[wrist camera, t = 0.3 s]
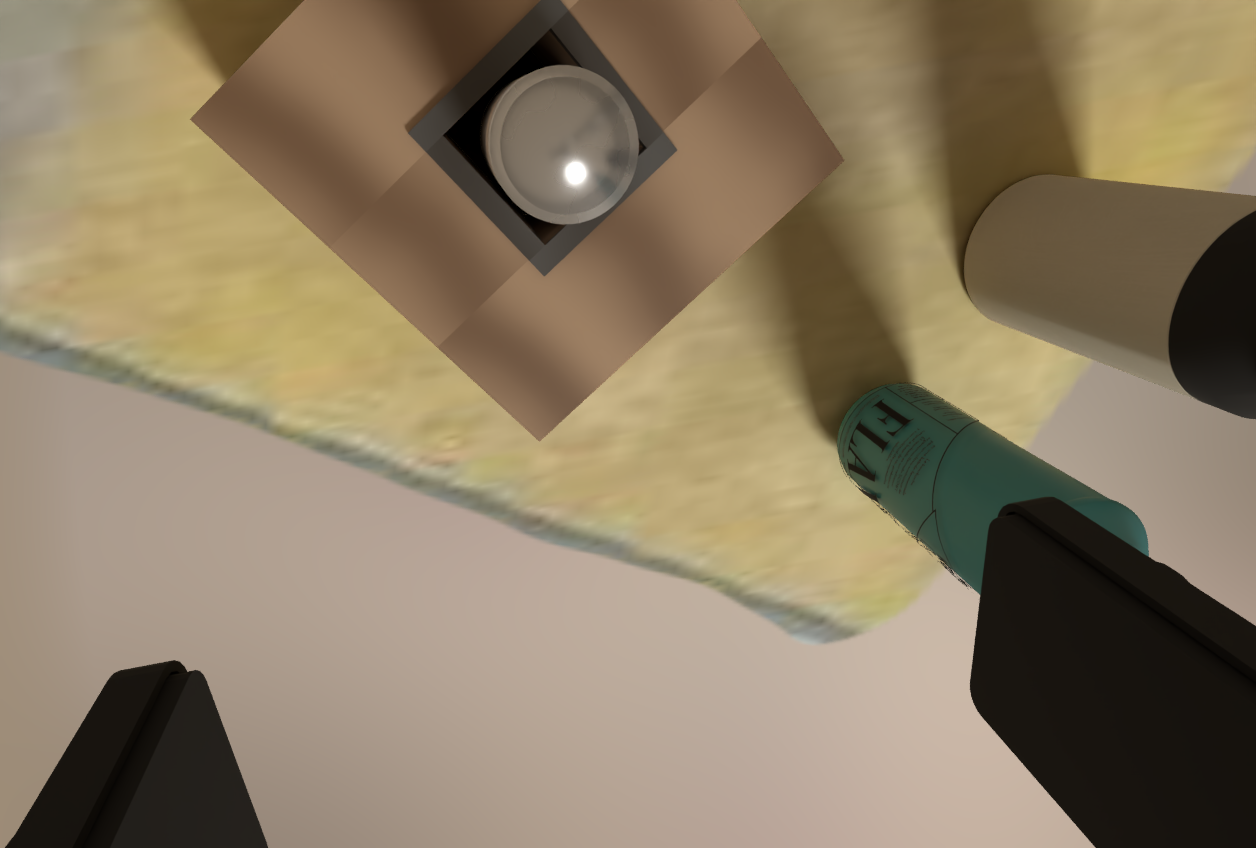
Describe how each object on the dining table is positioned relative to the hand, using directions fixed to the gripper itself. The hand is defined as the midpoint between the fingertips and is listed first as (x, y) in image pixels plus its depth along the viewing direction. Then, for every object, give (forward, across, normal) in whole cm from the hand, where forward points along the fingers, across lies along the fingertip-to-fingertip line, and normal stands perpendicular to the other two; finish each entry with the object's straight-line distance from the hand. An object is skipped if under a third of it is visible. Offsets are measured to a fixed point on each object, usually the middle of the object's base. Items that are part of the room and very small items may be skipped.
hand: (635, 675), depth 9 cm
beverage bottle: (+30, -19, +12) cm, 37 cm away
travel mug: (+30, -28, +3) cm, 41 cm away
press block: (+30, -2, -5) cm, 30 cm away
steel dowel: (+25, -2, -5) cm, 25 cm away
